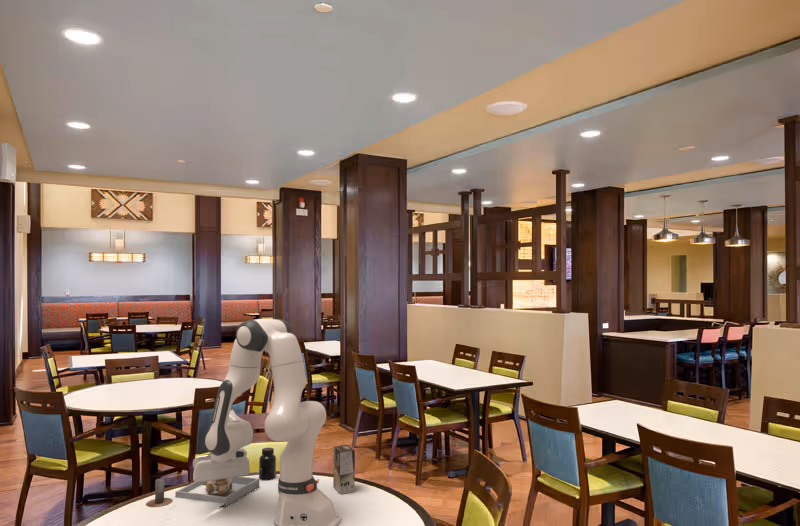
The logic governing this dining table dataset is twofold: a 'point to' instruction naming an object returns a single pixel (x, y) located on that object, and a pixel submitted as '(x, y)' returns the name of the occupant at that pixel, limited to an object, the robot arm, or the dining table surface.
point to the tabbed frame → (220, 484)
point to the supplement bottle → (267, 464)
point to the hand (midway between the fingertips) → (221, 490)
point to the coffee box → (344, 469)
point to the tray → (240, 483)
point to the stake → (159, 495)
